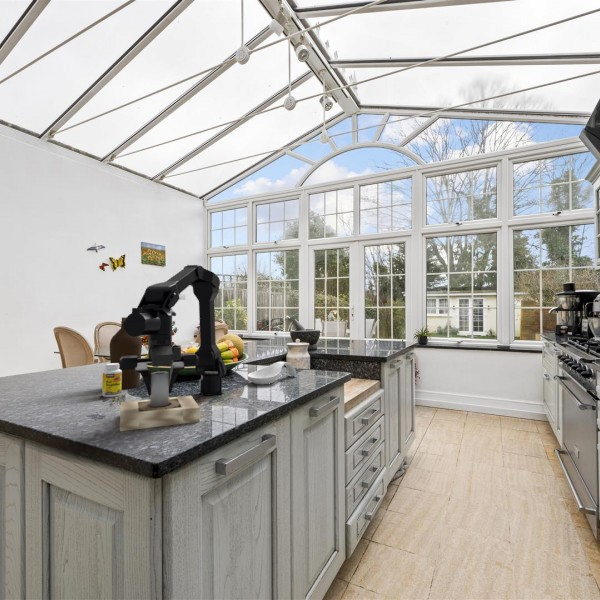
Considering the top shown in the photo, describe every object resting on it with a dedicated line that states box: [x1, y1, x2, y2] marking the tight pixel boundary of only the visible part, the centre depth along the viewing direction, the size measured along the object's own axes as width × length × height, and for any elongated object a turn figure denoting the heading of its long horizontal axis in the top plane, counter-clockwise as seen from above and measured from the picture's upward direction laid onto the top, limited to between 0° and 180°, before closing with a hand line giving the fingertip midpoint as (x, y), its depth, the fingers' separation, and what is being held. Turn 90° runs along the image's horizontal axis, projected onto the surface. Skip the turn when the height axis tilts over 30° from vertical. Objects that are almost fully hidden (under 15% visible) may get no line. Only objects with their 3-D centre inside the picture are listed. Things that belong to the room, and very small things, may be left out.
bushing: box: [149, 371, 170, 407], centre depth 96 cm, size 4×4×8 cm
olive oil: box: [109, 316, 143, 390], centre depth 134 cm, size 11×11×25 cm
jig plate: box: [119, 395, 201, 432], centre depth 96 cm, size 18×14×4 cm
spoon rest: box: [247, 361, 297, 385], centre depth 146 cm, size 24×12×7 cm, turn 144°
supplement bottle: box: [101, 362, 122, 398], centre depth 121 cm, size 6×6×10 cm
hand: (159, 394), depth 96 cm, fingers closed on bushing, 4 cm apart
